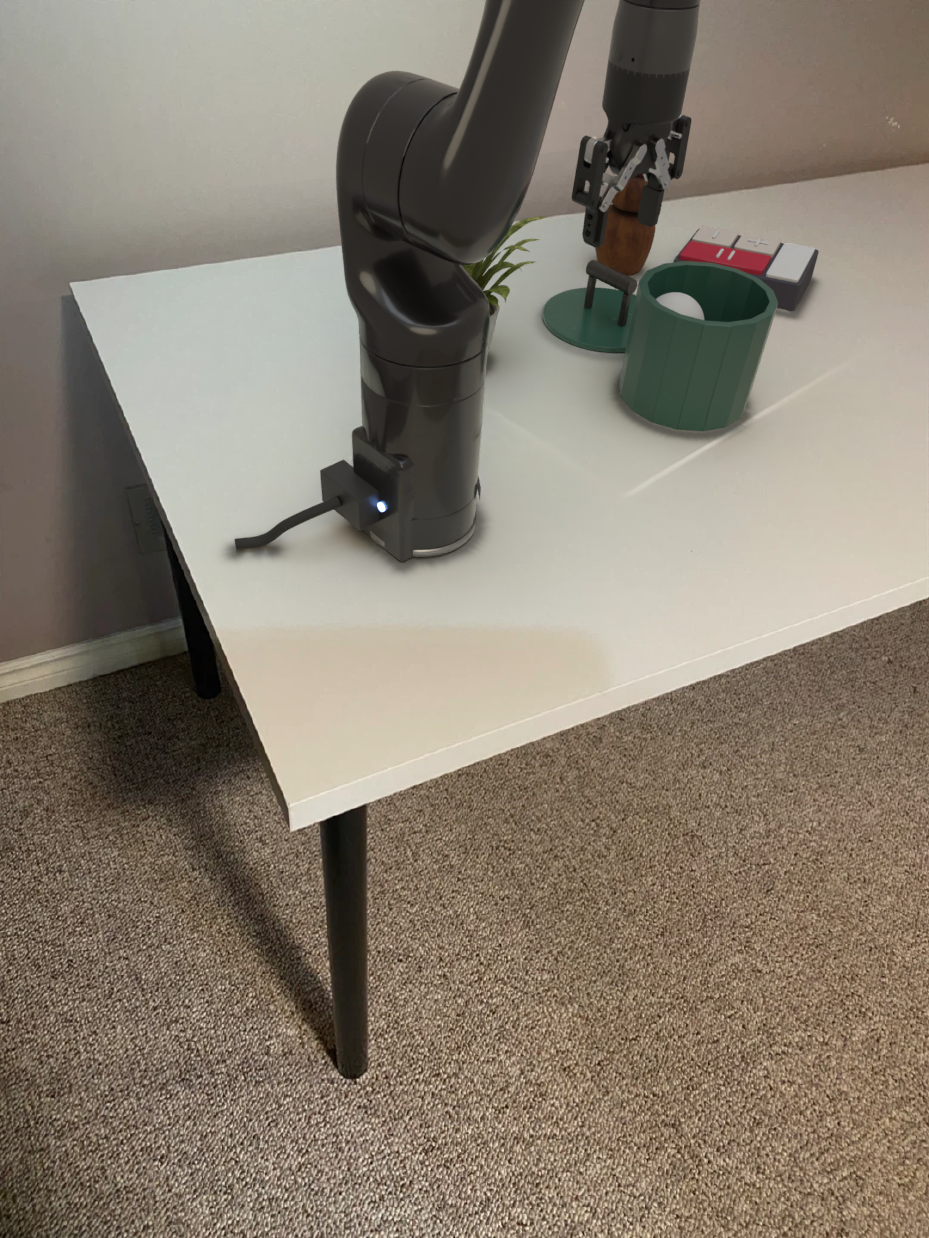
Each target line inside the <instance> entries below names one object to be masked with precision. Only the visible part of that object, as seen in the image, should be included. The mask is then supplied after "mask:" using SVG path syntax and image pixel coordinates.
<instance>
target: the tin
mask: <svg viewBox="0 0 929 1238" xmlns="http://www.w3.org/2000/svg"><path fill="white" fill-rule="evenodd" d="M671 292H679V293H684V294H686V295H689V296H690V297H692V298H693V299H694V300H696V301H697V303H698V304H699V305H700V307H701V309H702V311H703V314H704V320H701V319H697V318H693V317H689V316H686V315H682V314H679V313H677V312H675V311H673V310H671V309H669V308H667V307H665V306H663V305H661V304H660V303H659V302H658V301H657V300H656V298H658V297H659V296H661V295H664V294H667V293H671ZM635 295H636V299H635V304H634V309H633V314H632V320H631V325H630V330H629V335H628V340H627V345H626V351H625V352H624V356H623V361H622V367H621V372H620V375H619V376H620V377H619V381H618V387H619V394H620V398H621V400H622V401H623V402H624V403H625V404H626V406H627V407H628V408H629V410H631V411H632V412H633V413H634V414H637V415H638V416H640V417H641V418H644V419H645V420H647V421H648V422H650V423H653V424H656V425H660V426H663V427H666V428H670V429H673V430H678V431H689V432H690V431H691V432H707V431H708V432H709V431H713V430H718V429H724V428H727V427H728V426H730V425H732V424H733V423H735V422H737V421H739V420H740V419H741V418H742V416H743V415H744V412H745V410H746V408H747V405H748V402H749V399H750V396H751V393H752V390H753V386H754V384H755V380H756V377H757V373H758V370H759V367H760V363H761V360H762V358H763V354H764V351H765V348H766V344H767V342H768V339H769V338H768V337H769V334H770V331H771V328H772V325H773V322H774V319H775V316H776V312H777V309H778V308H777V306H778V301H777V299H776V296H775V294H774V291H773V290H772V289H771V288H770V287H769V286H767V285H766V284H765V283H764V282H762V281H761V280H760V279H759V278H757V277H754V276H752V275H750V274H748V273H745V272H743V271H741V270H739V269H736V268H732V267H727V266H723V265H719V264H715V263H708V262H694V261H682V262H674V261H673V262H665V263H662V264H659V265H657V266H655V267H652V268H650V269H647V270H646V271H645V273H644V274H643V276H642V277H640V279H639V281H638V283H637V288H636V294H635Z"/></svg>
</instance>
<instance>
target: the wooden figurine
mask: <svg viewBox="0 0 929 1238" xmlns="http://www.w3.org/2000/svg"><path fill="white" fill-rule="evenodd" d="M646 184H648V182H646V181H645V179H644V176H643V174H638V175H636V176H635V177H634V178H631V179H629V180H628V182H627V184H626V185H625V187H624V189H623V190H622V191H619V192H617V193H616V195H615V197H614V198H613V200H612V202H611V204H610V206H609V208H608V209H607V210H609V213H608V219H607V226H606V232H605V239H604V244H603V245H602V246H600V247H598V248H595V247H594V251H595V255H596V259H597V261H598V262H600V263H602V264H604V265H606V266H608V267H611V268H613V269H615V270H617V271H619V272H621V273H623V274H625V275H627V276H633V275H636V274H638V273H640V272H641V270H642V268H643V267H645V264H646V262H647V260H648V258H649V255H650V253H651V250H652V247H653V243H654V239H655V234H656V225H654V226H652V227H649V226H646V225H644V224H642V223H640V222H639V221H638V219H637V217H638V211H639V205H640V200H641V194H642V189H643V185H646Z"/></svg>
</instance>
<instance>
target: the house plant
mask: <svg viewBox="0 0 929 1238" xmlns="http://www.w3.org/2000/svg"><path fill="white" fill-rule="evenodd" d="M545 218H547V216H532V217H528V218H524V219H522V220H520V221H517V222H515V223H513V225H512V226H511V228H510V230H509V231H508V233H507V235H506V236H505V238H504V239H503V241H502V242H501V243H500V245H499V246H498V247H497V248H496V249H495V250H494V251H493V252H492V253H491V254H490V255H489V256H487V257H486V258H484V259H483V260H482V261H480V262H477V263H474V264H471V265H462V266H463V268H464V269H465V270H466V271H467V273H468V274H469V275H470V276H471V277H472V278H473V279H474V280H475V282H476V283H477V284H478V285H479V286H480V288H481V289H482V290H483V292H484V293H485V295H486V297H487V300H488V303H489V308H490V326H489V338H488V351H487V357H488V355H489V352H490V348H491V343H492V340H493V335H494V331H495V327H496V324H497V321H498V320H497V319H498V316H499V312H500V304H499V299H498V297H497V296H496V295H494V294H497V295H500V296H501V297H502V298H503V299H504V303H505V304H506V303H507V298H508V297H509V295H510V291H511V289H510V287H509V286H508V285H505V284H502V283H503V282H504V281H505V280H506V279H507V278H508V277H509V276H510V275H511V274H513V273H514V272H516V271H517V270H520V272H523V271H522V267H524V266H526V265H531V264H534V263H536V261H532V260H531V261H530V260H529V261H521V262H519V263H516V264H514V263H512V262H509V261H506V260H507V258H509V256H511V254H512V253H513V252H515V251H516V250H519V251H523V252H529V253H531V252H530V250H529V249H527V248H525V247H523V246H524V245H525V244H527V243H529V242H537V241H540V240H541V239H539V238H525V239H522V240H520V241H518V242H516V243H515V244H511V245H508V246H507V247H504V248H503V250H501V251H499V250H500V249H501V247H502V246H503V245H504V244H505V242H507V240H509V239H510V237H512V236H513V235H514V234H516V232H518V231H519V230H521V229H522V228H524V227H525V226H527V225H528V224H530V223H531V222H536V221H540V220H543V219H545ZM498 251H499V252H498ZM503 251H506V252H505V253H504V254H503V255H502V256H501V258H500V259H499V260H498V262H497V263H496V264H494V265H493V266H491V265H492V264H493V262H494V261H495V260H496V259H497V258H498V256H500V254H501V253H502V252H503ZM497 252H498V253H497ZM490 266H491V267H490ZM489 267H490V268H489ZM505 269H507V270H506V271H505V272H503V273H502V274H501V275H500V277H499V278H498V279H496V281H495V282H493V284H492V285H491V287H490V288H489V289H486V290H485V288H486V287H487V285H488V284H489V283H490V281H491V279H492V278H493V277H494V276H495V275H496V274H497V273H499V272H500V271H502V270H505ZM492 293H494V294H492Z"/></svg>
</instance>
